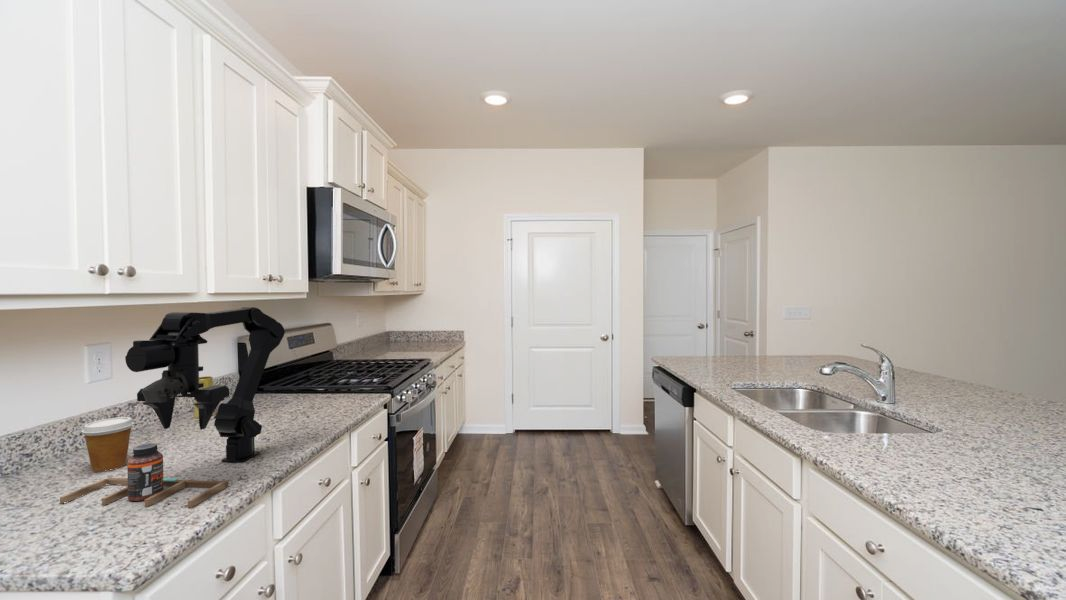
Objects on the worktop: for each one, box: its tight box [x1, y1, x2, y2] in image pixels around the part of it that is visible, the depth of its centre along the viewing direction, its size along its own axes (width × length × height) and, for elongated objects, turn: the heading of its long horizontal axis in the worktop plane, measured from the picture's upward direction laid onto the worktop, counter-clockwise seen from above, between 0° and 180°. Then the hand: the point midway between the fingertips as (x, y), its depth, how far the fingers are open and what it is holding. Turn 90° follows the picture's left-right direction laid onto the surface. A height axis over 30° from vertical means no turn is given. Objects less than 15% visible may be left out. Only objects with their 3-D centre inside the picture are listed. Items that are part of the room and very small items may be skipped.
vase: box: [193, 375, 216, 419], centre depth 155 cm, size 6×6×14 cm
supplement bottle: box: [126, 442, 164, 502], centre depth 94 cm, size 6×6×11 cm
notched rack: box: [59, 477, 230, 509], centre depth 95 cm, size 10×30×2 cm, turn 86°
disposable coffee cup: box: [81, 416, 134, 472], centre depth 110 cm, size 10×10×12 cm
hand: (184, 428), depth 101 cm, fingers open, 9 cm apart
